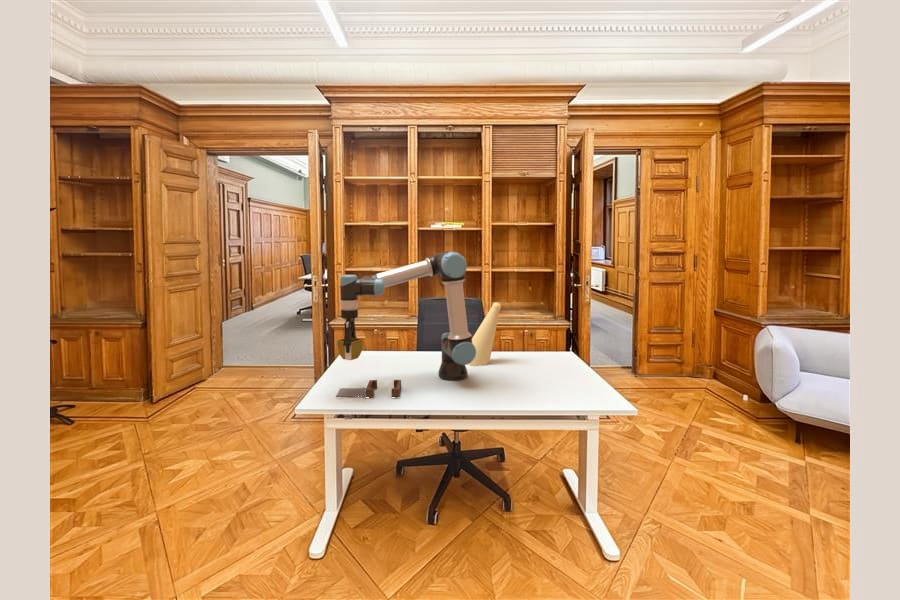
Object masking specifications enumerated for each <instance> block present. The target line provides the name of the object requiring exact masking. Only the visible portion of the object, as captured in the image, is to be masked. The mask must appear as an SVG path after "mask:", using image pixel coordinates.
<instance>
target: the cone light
mask: <svg viewBox="0 0 900 600" xmlns="http://www.w3.org/2000/svg"><path fill="white" fill-rule="evenodd" d="M501 308H502V304H501V303H500V302H493V304H492V305H491V307H490V309H489V311H488V312H487V313H486V316H485V317H484V318H483V320H482V322H481V323H480V325H479V326H478V328H477V330H476V332H475V333H474V335H473V336H472V344H473V345H474V347H475V349H476V356H475V358H474V359H473V361H472V362H470V363H469V364H466V365H470V366H469V367H480V366H479V365H483V366H486V365H485V364H487V365H489V364H490V360H491V355H492V351H493V346H494V340H495V337H496V336H495V335H496V330H497V326H498V321H499V316H500V310H501ZM488 363H489V364H488Z"/></svg>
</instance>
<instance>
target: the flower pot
mask: <svg viewBox="0 0 900 600" xmlns="http://www.w3.org/2000/svg"><path fill="white" fill-rule="evenodd" d="M343 344H344V338H340V339H337V340H336V347H337V351H338V354H339V356H340V357H341V359H342V360H345V346H343ZM363 344H364V339H363V338H358V337H357V338H352V337H351V357H352V359H351V360H350V361H353V360H356V359H359V357H360V356H361V354H362V350H363V346H364V345H363Z"/></svg>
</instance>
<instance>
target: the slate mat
mask: <svg viewBox="0 0 900 600" xmlns="http://www.w3.org/2000/svg"><path fill="white" fill-rule="evenodd" d="M366 388H367V387H347V388H346V387H345V388H344V387H343V388H339V390H338V392H337V393H336V395H335V398H336V397H349V398H362V397H361V396H363V395H364V396H365V394H366V391H365V390H366ZM358 396H359V397H358ZM364 396H363V397H364Z"/></svg>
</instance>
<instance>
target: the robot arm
mask: <svg viewBox="0 0 900 600" xmlns="http://www.w3.org/2000/svg"><path fill="white" fill-rule="evenodd" d="M467 266H468V264H467V261H466V259H465V257H464V256H463V255H462V254H460V253H459V252H457V251H442V252H439V253H437V254H434V255H431V256H427V257H425V259H424V260H422V261H417V262H415V263H411V264H408V265H407V264H406V265H403V266H400V267H397V268H393V269H390V270H386V271H381V272H379V273H376V274H371V275H365V276H362V277H361V278H358V276H357V275H356V274H342V275H341V276H340V278H339V280H340V281H339V284H340V285H339V290H340V291H339V293H340V295H339V296H340V301H339V304H340V308H341V310H340V317H341V319H344V320H345V322H344V331H343V332H344V333H343V335H344V336H343V339H344V344H343V346H345V359H344V360H345V361H346V360H347V361H352V360H351V359H352V357H351V337H352V338H358V337H357V335H356V332H357V331H356V325H355V324H356V323H355V322H356V321H355V319H357V318H358V317H359V309H358V307H359V303H358V302H359V300H358V299H359V298H358V297H359V296H360V297H361V296H382V295H383V294H384V293H385V288H389V287H393V286H395V285H399V284H403V283H406V282H409V281H414V280H416V279H420V278H424V277H428V276H429V277H435V276H440V281H441V283H442V284H443V285H444V289H445V290H444V291H445V297H446V307H447V315H448V326H449V332H444V333H442V335H441V362H440V366H439V370H438V373H437V375H438V376H439V377H440V378H439V377H438V378H439V379H441V378H442V379H441V380H444V379H446V380H445V381H462V380H465V379H468V377H469V376H468V370H467V366H465V365H466V364H469V363H470V362H472V361H473V359H474V358H475V356H476V349H475V347H474V345H473V344H472V338H473V336H472V334H471V333H470V331H469V327H468V319H467V311H466V310H467V309H466V303H465V302H466V301H465V292H464V284H463V283H464V282H465V281H466V271H467V269H468V267H467ZM461 379H462V380H461Z"/></svg>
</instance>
